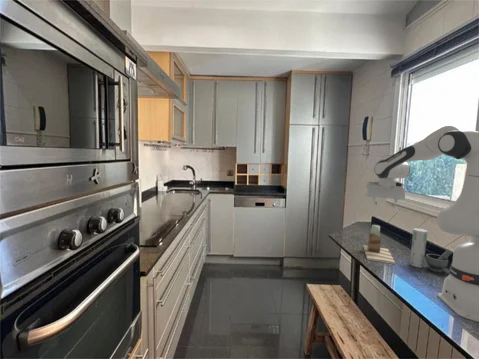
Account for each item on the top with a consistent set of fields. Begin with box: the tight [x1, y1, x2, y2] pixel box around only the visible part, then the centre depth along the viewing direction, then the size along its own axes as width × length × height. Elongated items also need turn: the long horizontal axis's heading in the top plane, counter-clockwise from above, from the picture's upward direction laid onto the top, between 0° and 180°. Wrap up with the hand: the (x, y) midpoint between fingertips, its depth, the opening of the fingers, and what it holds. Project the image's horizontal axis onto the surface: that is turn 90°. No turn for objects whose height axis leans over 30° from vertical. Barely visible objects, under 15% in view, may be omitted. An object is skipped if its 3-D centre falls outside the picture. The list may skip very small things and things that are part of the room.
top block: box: [368, 232, 382, 245], centre depth 161 cm, size 5×5×5 cm
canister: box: [370, 224, 381, 236], centre depth 160 cm, size 5×5×6 cm
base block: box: [367, 239, 381, 253], centre depth 161 cm, size 6×6×5 cm
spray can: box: [409, 228, 429, 268], centre depth 144 cm, size 6×6×20 cm
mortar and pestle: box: [425, 248, 453, 273], centre depth 139 cm, size 11×9×12 cm
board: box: [363, 245, 396, 265], centre depth 157 cm, size 22×14×1 cm, turn 159°
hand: (384, 205), depth 157 cm, fingers open, 8 cm apart
